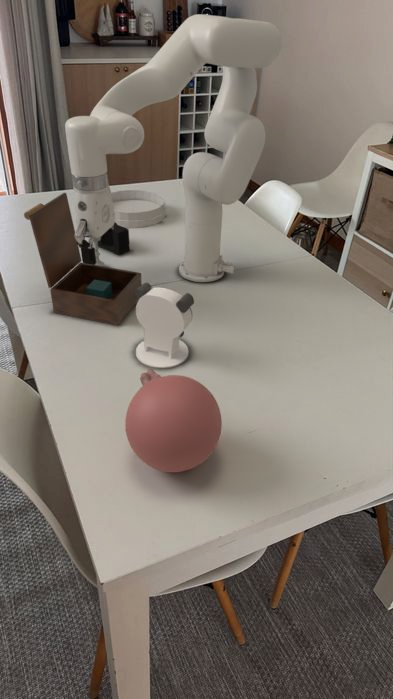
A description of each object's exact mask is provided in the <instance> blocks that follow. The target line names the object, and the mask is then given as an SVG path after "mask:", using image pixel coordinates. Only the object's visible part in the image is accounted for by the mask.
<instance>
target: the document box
mask: <svg viewBox="0 0 393 699" xmlns="http://www.w3.org/2000/svg"><path fill="white" fill-rule="evenodd" d="M94 280H100V281H105V282H111V287H112V299H107V298H101V297H96V296H91V295H87V291H86V288H87V287H88V286H89V285H90V284H91V283H92V282H93V281H94ZM142 285H143V284H142V272H138V271H132V270H126V269H121V268H115V267H109V266H106V267H104V266H98V265H93V264H86V263H83V262H80V263H79V264H78V265H76V266H75V267H74V268H73V269H72V270H71V271H70V272H69V273H67V274H66V275H65V276H64V277H63V278H62V279H61V280H60V281H58V282H57V283H56V284H55V285H54V286H53V287H52V288H49V289H50V290H49V291H50V297H51V303H52V310H53V313H54V314H59V315H63V316H68V317H74V318H78V319H84V320H89V321H94V322H99V323H104V324H109V325H114V326H118V325H120V324H121V322H122V321H123V319H124V318H125V317H126V315H127V314H128V313H129V312H130V310H132V308H133V307H134V305H135V304H137V302H138V300H139V299H140V298H137V297H136V296H135V291H136V290H137V289H138V288H139V287H140V286H142Z"/></svg>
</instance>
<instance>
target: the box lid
mask: <svg viewBox="0 0 393 699" xmlns="http://www.w3.org/2000/svg"><path fill="white" fill-rule="evenodd" d="M23 217H24V219H25V220H28V221H30V225H31V229H32V232H33V236H34V240H35V243H36V247H37V251H38V254H39V258H40V262H41V265H42V268H43V272H44V273H43V274H44V276H45V280H46V283H47V287H48V289H51V288H53V287H54V286H55V285H56V284H57V283H58V282H59V281H60V280H62V279H63V278H64V277H65V276H66V275H67V274H68V273H69V272H71V271H72V270H73V269H74V268H75V267H76V266H77V265H78V264H79V263H82V262H83V261H82V255H81V251H80V247H79V245H78V244H77V241H76V239H75V237H74V235H75V233H76V230H75V226H74V220H73V216H72V212H71V208H70V203H69V199H68V195H67V192H62V193H61V194H59V195H58V196H56V197H54V198H53V199H51V200H50V201H48V202H46V203H45V204H43V203H40V202H39V203H38V204H36V205H35V206H33V207H31V208H30V209H28V210H26V211H25V212H24V213H23Z"/></svg>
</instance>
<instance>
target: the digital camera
mask: <svg viewBox="0 0 393 699" xmlns="http://www.w3.org/2000/svg"><path fill="white" fill-rule="evenodd" d="M129 229H130V228H125V227H122V226H119V225H117V223H116V222H115V223H114V228H113V229H111V230H113V233H114V244H115V245H114V246H106V245H102V244H101V240H100V241H98V246H99V248H101V249H104V250H106V251H108V252H111V253H113V254H115V255H117V256H121V255H124V254H126V253H129V252H130V251H131V250H130V230H129Z"/></svg>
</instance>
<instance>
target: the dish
mask: <svg viewBox="0 0 393 699" xmlns="http://www.w3.org/2000/svg"><path fill="white" fill-rule="evenodd" d="M111 195H112V200H113V206H114V214H115V222H116V223H117V225H119V226H122V227H124V228H127V229H139V228H146V227H150V226H154V225H157V224H159V223H161V222H162V221H164V220H165V217H166V208H165V198H164V197H163V196H162V195H160V194H157V193H155V192H152V191H147V190H138V189H127V190H118V191H113V192H112V191H111Z"/></svg>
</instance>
